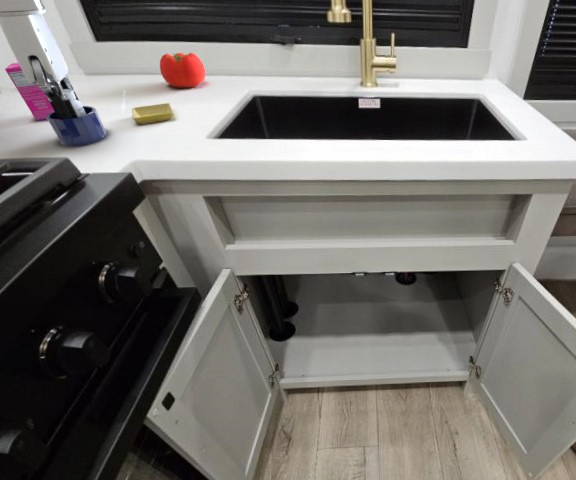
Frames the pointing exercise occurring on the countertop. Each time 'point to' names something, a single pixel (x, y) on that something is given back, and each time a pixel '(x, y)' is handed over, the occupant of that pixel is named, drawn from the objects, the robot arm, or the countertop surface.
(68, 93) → the pill bottle
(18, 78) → the supplement box
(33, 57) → the robot arm
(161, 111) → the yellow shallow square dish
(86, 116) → the blue cup
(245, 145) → the countertop surface
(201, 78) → the tomato
